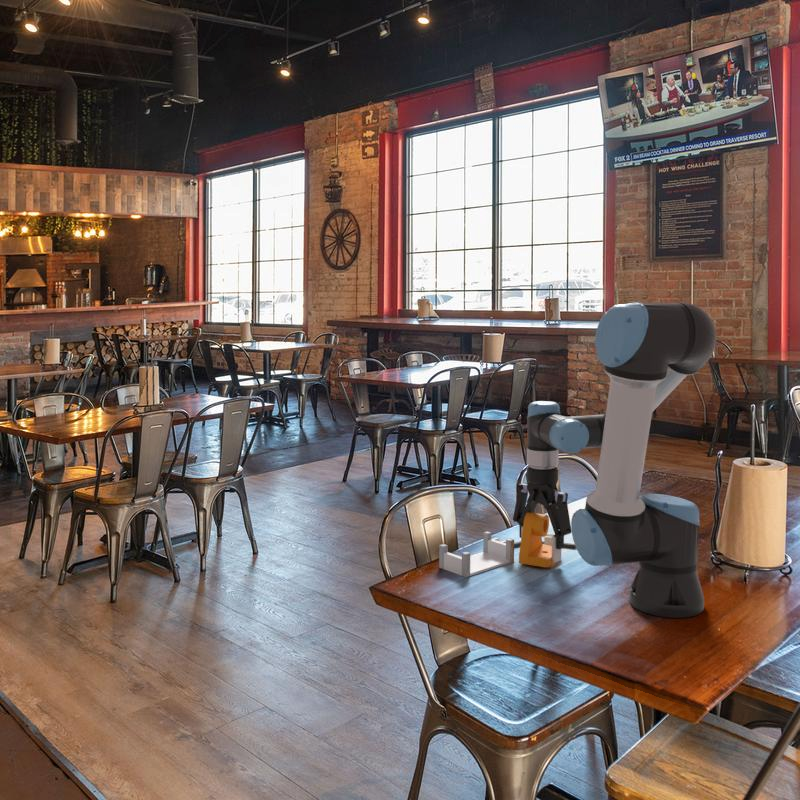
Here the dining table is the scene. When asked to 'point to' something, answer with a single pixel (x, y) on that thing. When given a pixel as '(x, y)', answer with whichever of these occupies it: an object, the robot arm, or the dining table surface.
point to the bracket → (535, 541)
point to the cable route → (546, 541)
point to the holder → (478, 557)
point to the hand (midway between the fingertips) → (540, 556)
